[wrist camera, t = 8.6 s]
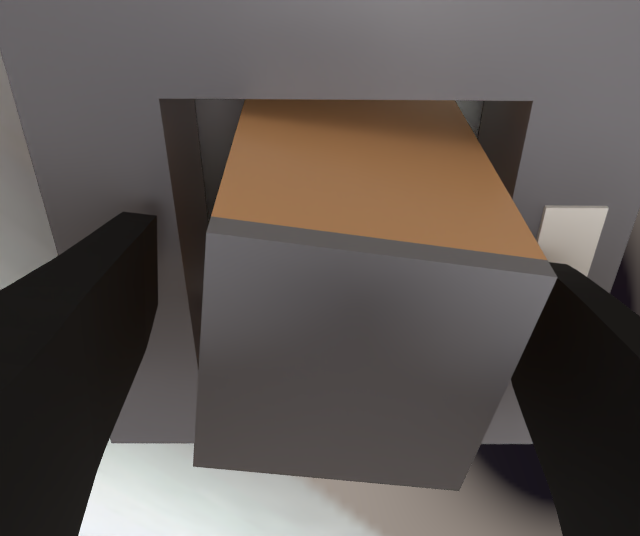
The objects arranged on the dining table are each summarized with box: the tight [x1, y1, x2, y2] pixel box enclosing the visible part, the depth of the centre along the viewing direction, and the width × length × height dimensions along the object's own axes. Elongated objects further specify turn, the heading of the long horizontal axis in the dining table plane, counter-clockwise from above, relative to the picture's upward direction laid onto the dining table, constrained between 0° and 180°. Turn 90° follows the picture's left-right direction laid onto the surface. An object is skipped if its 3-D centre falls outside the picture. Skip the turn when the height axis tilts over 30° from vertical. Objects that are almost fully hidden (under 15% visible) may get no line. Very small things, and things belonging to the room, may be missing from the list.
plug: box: [193, 99, 558, 491], centre depth 12 cm, size 4×4×7 cm
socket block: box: [0, 0, 640, 444], centre depth 13 cm, size 12×12×3 cm
